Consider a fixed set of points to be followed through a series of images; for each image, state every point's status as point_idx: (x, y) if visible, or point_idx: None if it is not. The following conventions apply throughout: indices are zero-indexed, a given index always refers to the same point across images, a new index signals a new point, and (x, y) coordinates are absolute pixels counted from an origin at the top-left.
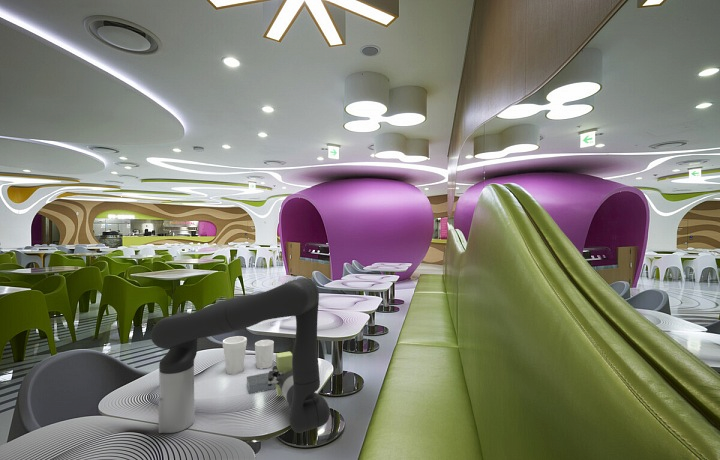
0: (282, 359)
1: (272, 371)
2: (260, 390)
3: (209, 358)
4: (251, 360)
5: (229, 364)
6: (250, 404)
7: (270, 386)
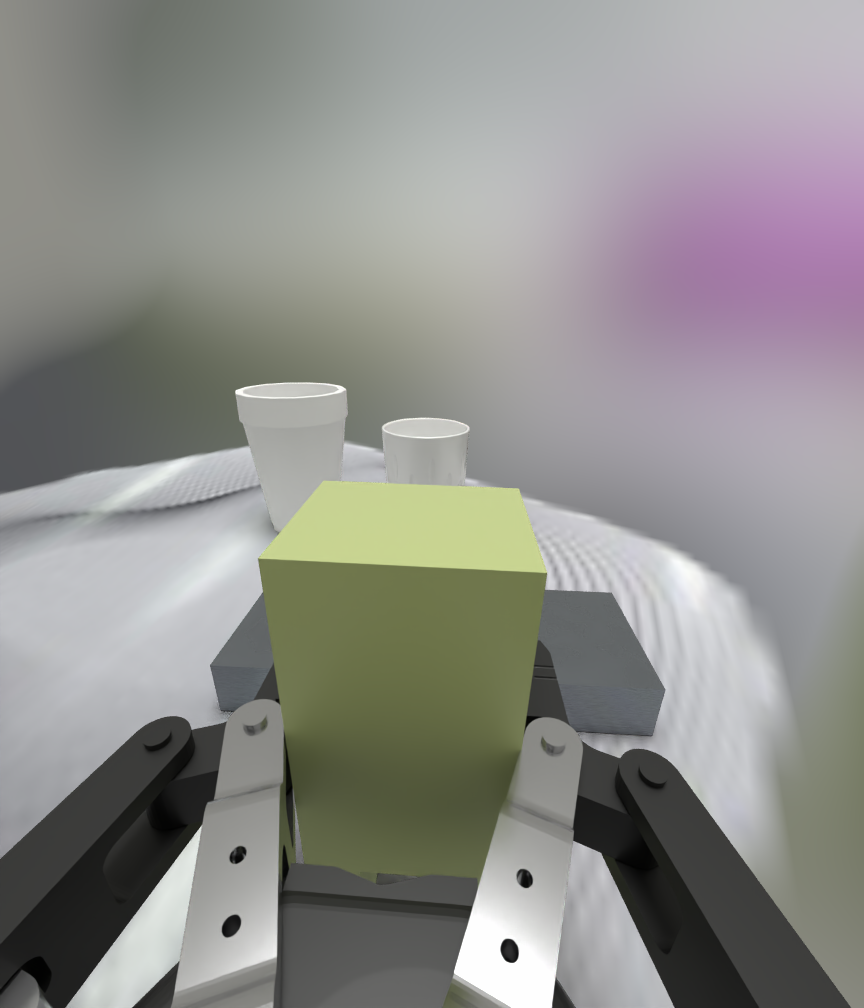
0: (341, 606)
1: (181, 743)
2: None
3: None
4: None
5: (267, 492)
6: None
7: None
